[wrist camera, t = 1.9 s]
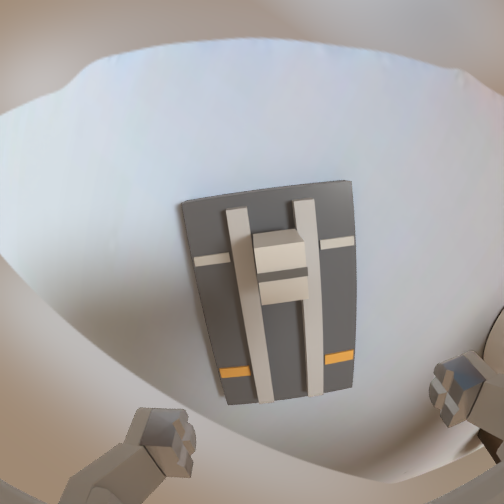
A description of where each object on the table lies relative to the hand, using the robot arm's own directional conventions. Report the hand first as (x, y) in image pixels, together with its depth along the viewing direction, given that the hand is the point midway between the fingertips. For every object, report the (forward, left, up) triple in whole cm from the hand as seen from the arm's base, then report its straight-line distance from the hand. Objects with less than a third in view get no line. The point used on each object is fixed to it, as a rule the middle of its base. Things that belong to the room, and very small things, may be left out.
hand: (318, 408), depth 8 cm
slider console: (0, +6, -19) cm, 20 cm away
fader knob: (0, 0, -17) cm, 17 cm away
